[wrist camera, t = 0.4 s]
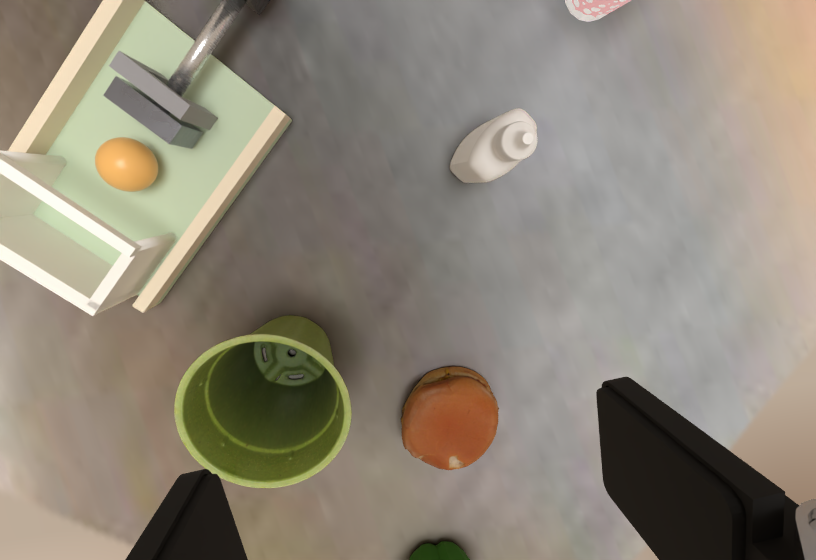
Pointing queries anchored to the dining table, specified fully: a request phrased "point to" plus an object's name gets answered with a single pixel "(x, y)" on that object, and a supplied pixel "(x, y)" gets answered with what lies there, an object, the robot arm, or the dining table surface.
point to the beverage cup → (593, 8)
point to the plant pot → (265, 406)
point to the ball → (126, 164)
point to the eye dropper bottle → (495, 147)
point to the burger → (449, 418)
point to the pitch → (112, 208)
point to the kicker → (179, 79)
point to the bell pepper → (439, 552)
